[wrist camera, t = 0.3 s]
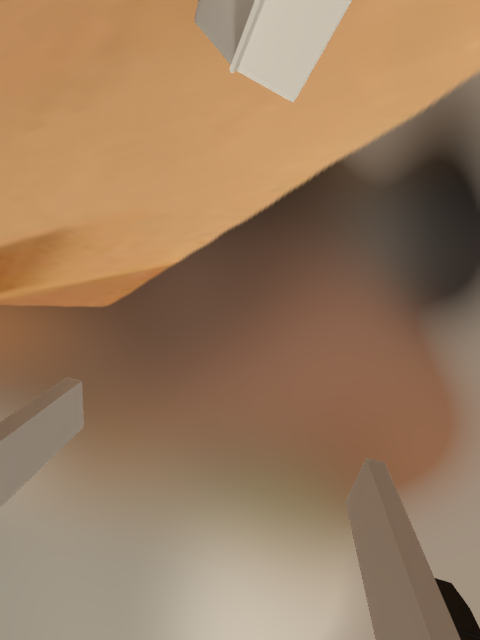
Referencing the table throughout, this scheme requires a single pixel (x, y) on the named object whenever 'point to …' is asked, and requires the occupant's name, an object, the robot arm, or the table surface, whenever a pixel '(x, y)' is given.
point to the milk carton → (271, 37)
